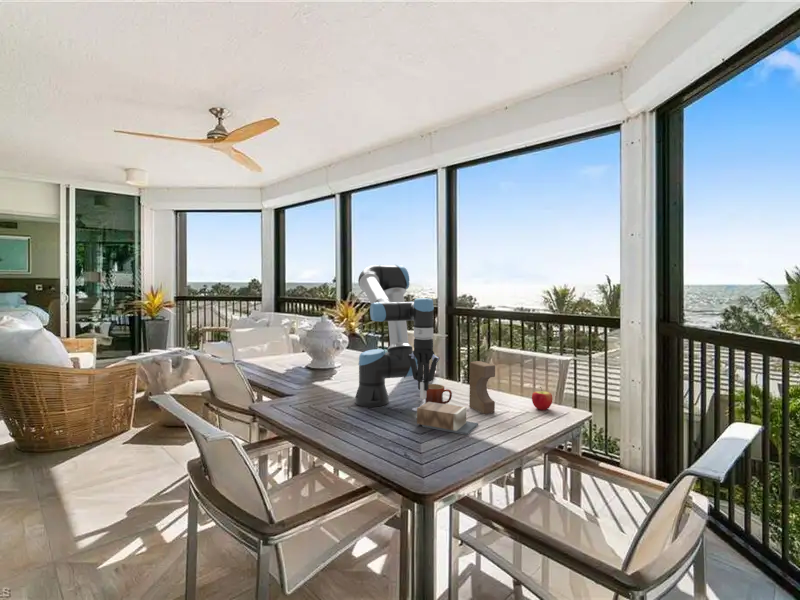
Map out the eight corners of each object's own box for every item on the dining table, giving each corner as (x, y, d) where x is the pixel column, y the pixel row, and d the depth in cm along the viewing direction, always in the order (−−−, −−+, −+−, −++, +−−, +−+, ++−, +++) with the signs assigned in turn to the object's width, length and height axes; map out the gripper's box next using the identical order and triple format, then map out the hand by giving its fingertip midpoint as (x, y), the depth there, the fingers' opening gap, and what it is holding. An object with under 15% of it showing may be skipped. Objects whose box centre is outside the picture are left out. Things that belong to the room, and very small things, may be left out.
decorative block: (495, 412, 185) (495, 365, 184) (483, 414, 183) (484, 366, 181) (479, 405, 195) (480, 360, 194) (468, 407, 193) (469, 361, 191)
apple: (528, 409, 190) (528, 386, 189) (537, 405, 196) (537, 382, 196) (546, 413, 184) (547, 389, 184) (555, 408, 191) (555, 385, 190)
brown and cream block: (416, 408, 169) (456, 414, 161) (428, 401, 177) (466, 407, 170) (416, 423, 169) (456, 430, 161) (428, 416, 178) (466, 422, 170)
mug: (421, 412, 186) (421, 388, 185) (426, 406, 194) (426, 383, 193) (449, 415, 182) (449, 390, 181) (453, 409, 190) (454, 385, 189)
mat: (422, 426, 168) (422, 424, 168) (435, 417, 178) (435, 415, 178) (467, 435, 159) (467, 432, 159) (478, 425, 170) (478, 423, 170)
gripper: (404, 338, 171) (403, 398, 173) (434, 340, 165) (434, 403, 166) (413, 335, 178) (412, 393, 179) (442, 338, 172) (442, 398, 173)
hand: (423, 398), depth 173 cm, fingers closed
